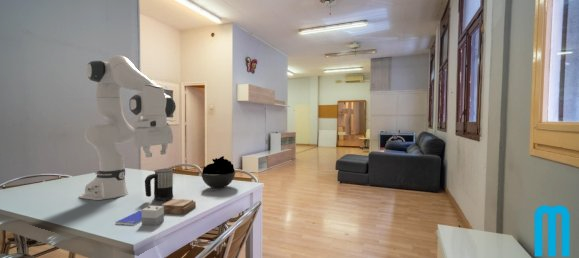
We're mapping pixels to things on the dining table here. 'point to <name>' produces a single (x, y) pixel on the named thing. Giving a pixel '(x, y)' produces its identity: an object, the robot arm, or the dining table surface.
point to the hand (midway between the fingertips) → (156, 155)
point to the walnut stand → (178, 206)
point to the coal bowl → (218, 173)
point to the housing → (152, 215)
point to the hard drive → (131, 219)
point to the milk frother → (160, 184)
